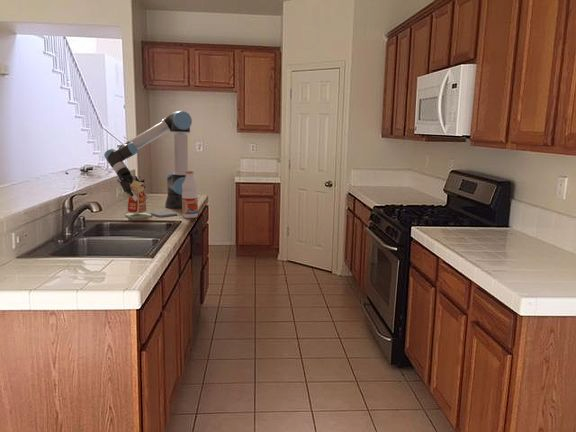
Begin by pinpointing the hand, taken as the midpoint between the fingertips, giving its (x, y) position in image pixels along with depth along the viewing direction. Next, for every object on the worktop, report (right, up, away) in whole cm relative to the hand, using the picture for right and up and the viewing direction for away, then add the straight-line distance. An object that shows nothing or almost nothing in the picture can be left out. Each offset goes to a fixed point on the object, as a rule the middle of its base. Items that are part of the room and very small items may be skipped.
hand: (141, 199), depth 294 cm
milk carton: (-3, -8, +3) cm, 9 cm away
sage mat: (-3, -11, +4) cm, 12 cm away
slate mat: (+11, -10, +10) cm, 18 cm away
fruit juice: (+28, -11, +6) cm, 31 cm away
